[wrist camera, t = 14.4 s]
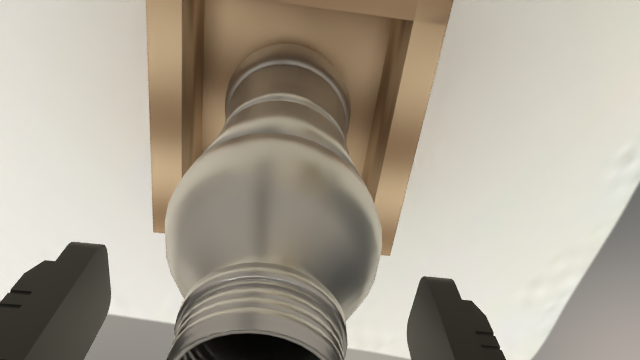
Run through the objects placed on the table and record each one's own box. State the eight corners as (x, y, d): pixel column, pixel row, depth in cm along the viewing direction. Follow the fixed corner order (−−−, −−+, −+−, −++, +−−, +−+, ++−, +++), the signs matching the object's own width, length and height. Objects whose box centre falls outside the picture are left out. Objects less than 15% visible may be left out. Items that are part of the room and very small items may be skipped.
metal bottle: (288, 8, 25) (235, 185, 7) (371, 97, 27) (486, 398, 9) (208, 90, 27) (11, 389, 9) (292, 167, 29) (264, 524, 11)
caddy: (180, -58, 24) (143, -57, 19) (425, -22, 25) (455, -11, 20) (180, 180, 31) (153, 232, 25) (376, 202, 32) (389, 255, 26)
